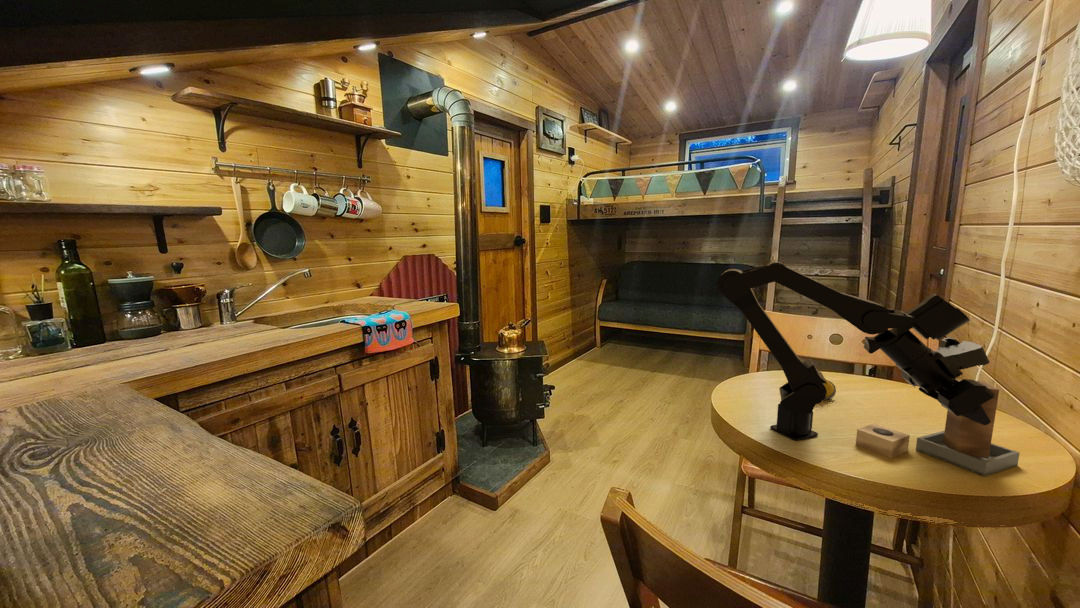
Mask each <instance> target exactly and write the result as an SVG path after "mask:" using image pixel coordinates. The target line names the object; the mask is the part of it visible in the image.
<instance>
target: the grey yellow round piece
mask: <svg viewBox="0 0 1080 608" xmlns="http://www.w3.org/2000/svg"><path fill="white" fill-rule="evenodd" d="M825 380H826V382H827V383H823V384H824V386H825V388H826V390H827V394H826V397H825V399H824V400H825V401H826V400H830V399H832V398H834V396H835V395H836V393H837V388H836V385H835V384H834V383H833V381H830V380H828V379H827V378H825ZM824 400H823V401H824Z"/></svg>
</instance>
